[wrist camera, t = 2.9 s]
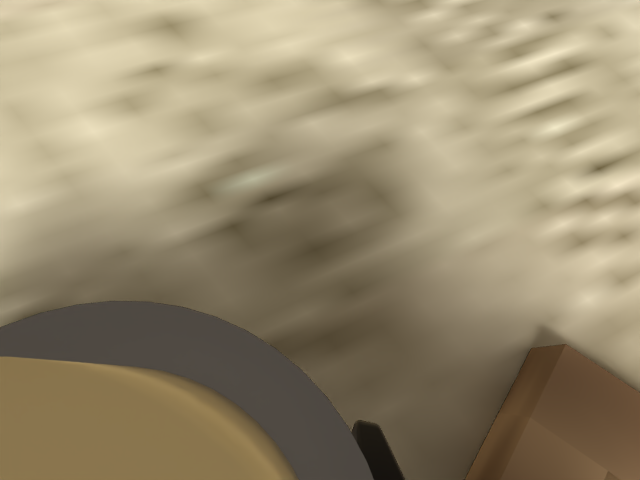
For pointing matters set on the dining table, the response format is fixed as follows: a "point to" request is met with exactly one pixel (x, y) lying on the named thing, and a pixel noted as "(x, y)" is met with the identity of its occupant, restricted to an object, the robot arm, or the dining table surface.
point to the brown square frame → (563, 423)
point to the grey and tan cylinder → (160, 401)
